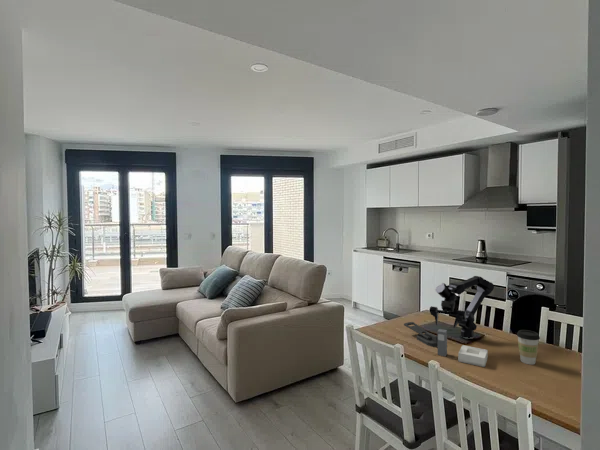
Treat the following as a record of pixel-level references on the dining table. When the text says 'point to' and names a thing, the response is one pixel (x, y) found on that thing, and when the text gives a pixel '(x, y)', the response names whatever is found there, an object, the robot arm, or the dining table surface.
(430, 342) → the zipper pull
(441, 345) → the bracket post
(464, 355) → the block
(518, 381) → the dining table surface
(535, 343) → the coffee cup
